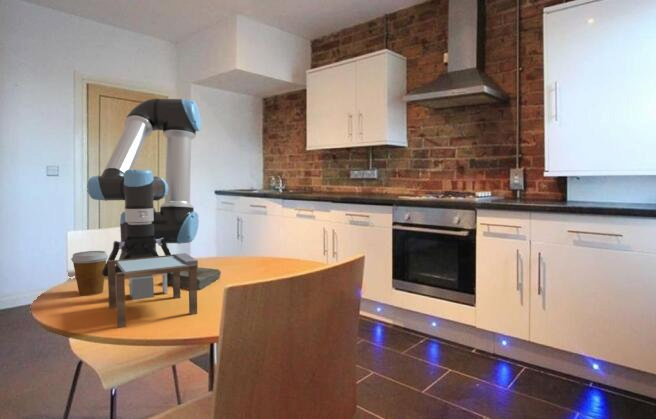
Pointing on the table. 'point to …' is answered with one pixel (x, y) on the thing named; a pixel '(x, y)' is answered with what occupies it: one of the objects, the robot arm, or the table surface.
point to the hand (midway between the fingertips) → (141, 295)
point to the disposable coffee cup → (89, 271)
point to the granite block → (141, 287)
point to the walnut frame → (118, 283)
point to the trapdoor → (157, 263)
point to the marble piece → (198, 277)
